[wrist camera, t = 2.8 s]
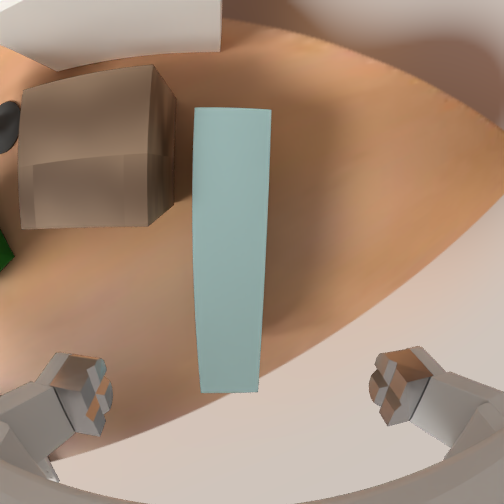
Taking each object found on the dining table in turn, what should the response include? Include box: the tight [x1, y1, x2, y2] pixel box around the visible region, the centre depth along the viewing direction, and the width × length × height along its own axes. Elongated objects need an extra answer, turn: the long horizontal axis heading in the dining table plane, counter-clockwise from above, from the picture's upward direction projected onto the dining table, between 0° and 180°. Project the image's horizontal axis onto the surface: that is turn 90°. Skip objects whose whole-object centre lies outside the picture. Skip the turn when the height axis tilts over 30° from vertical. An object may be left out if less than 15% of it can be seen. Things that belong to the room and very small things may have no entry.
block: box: [18, 65, 176, 230], centre depth 16 cm, size 8×8×8 cm
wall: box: [0, 0, 222, 72], centre depth 12 cm, size 2×14×12 cm, turn 88°
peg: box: [192, 107, 271, 393], centre depth 19 cm, size 18×4×4 cm, turn 178°
